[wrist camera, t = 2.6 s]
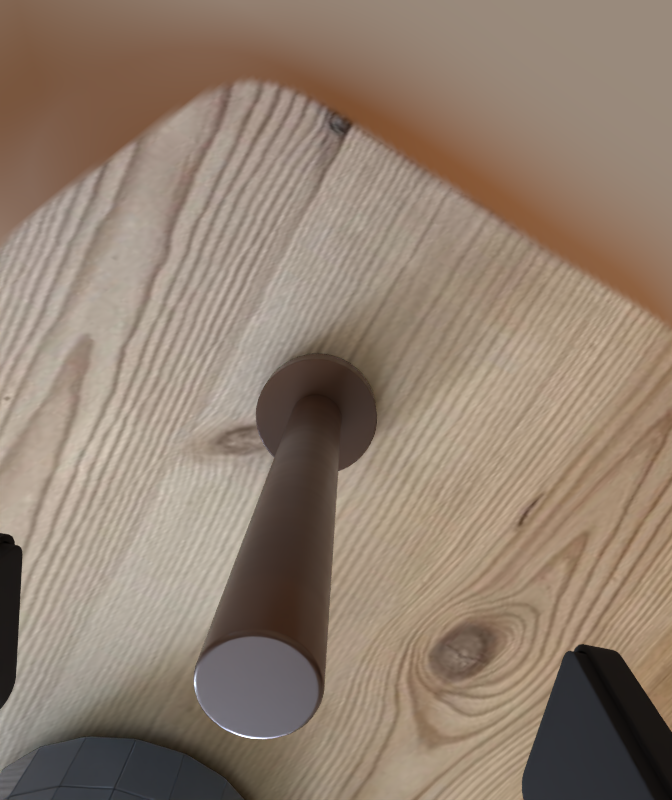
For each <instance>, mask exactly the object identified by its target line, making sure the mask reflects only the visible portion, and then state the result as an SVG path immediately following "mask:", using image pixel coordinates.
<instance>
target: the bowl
mask: <svg viewBox="0 0 672 800" xmlns="http://www.w3.org/2000/svg"><path fill="white" fill-rule="evenodd" d="M0 800H244V798H243V797H242V796H241V795H240V794H239V793H238V792H237V791H236V790H235V788H234V787H233V786H232V785H231V784H230V783H229V782H228V781H227V780H226V778H224V777H223V776H221V775H220V774H218V773H216V772H215V771H213V770H211V769H210V768H208V767H207V766H205V765H203V764H202V763H200V762H198V761H197V760H195V759H194V758H192V757H190V756H189V755H187V754H184V753H182V752H178V751H175V750H172V749H169V748H165V747H162V746H159V745H156V744H152V743H149V742H146V741H142V740H139V739H137V740H136V739H132V738H111V737H91V736H88V737H81V738H77V739H72V740H68V741H63V742H59V743H54V744H50V745H45V746H42V747H39V748H37V749H35V750H34V751H32V752H30V753H29V754H27V755H25V756H24V757H22V758H20V759H18V760H17V761H15V762H13V763H12V764H10V765H8V766H7V767H5V768H4V769H3V770H2V772H1V773H0Z"/></svg>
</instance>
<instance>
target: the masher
mask: <svg viewBox="0 0 672 800" xmlns="http://www.w3.org/2000/svg"><path fill="white" fill-rule="evenodd" d="M256 423H257V429H258V432H259V435H260V438H261V440H262V442H263V444H264V445H265V447H266V448H267V450H268V451H269V452H270V454H271V455H272V456H273V457H274V460H273V463H272V465H271V468H270V470H269V473H268V476H267V478H266V481H265V484H264V486H263V489H262V492H261V494H260V497H259V500H258V502H257V505H256V507H255V510H254V513H253V515H252V518H251V521H250V523H249V526H248V529H247V531H246V534H245V536H244V539H243V542H242V544H241V547H240V550H239V552H238V555H237V558H236V560H235V563H234V566H233V568H232V571H231V573H230V576H229V579H228V581H227V584H226V587H225V589H224V592H223V595H222V597H221V600H220V602H219V605H218V608H217V610H216V613H215V616H214V618H213V621H212V624H211V626H210V629H209V631H208V634H207V637H206V639H205V642H204V645H203V647H202V650H201V653H200V655H199V658H198V661H197V663H196V666H195V670H194V688H195V693H196V697H197V699H198V702H199V704H200V706H201V707H202V709H203V711H204V712H205V713H206V714H207V716H208V717H209V718H210V719H211V720H212V721H213V722H215V723H216V724H217V725H218V726H220V727H222V728H223V729H225V730H227V731H229V732H231V733H233V734H236V735H239V736H242V737H246V738H253V739H272V738H278V737H282V736H285V735H288V734H290V733H292V732H295V731H296V730H298V729H300V728H301V727H303V726H304V725H305V724H306V723H307V722H308V721H309V720H310V719H311V718H312V717H313V715H314V714H315V712H316V711H317V710H318V708H319V706H320V704H321V701H322V698H323V694H324V684H325V668H326V653H327V637H328V622H329V606H330V590H331V575H332V559H333V544H334V528H335V513H336V497H337V481H338V471H340V470H342V469H345V468H346V467H348V466H350V465H351V464H353V463H354V462H356V461H357V460H358V459H359V458H360V457H361V456H362V455H363V454H364V453H365V451H366V450H367V449H368V447H369V445H370V444H371V441H372V439H373V437H374V434H375V430H376V424H377V412H376V405H375V399H374V395H373V392H372V389H371V387H370V385H369V383H368V382H367V380H366V378H365V377H364V376H363V375H362V373H361V372H360V371H359V370H358V369H357V368H355V367H354V366H353V365H351V364H350V363H348V362H347V361H345V360H343V359H340V358H338V357H335V356H331V355H327V354H308V355H303V356H299V357H296V358H294V359H292V360H290V361H288V362H286V363H285V364H283V365H282V366H281V367H279V368H278V369H277V370H276V371H275V372H274V373H273V375H272V376H271V377H270V379H269V380H268V381H267V383H266V385H265V386H264V388H263V390H262V392H261V394H260V397H259V399H258V403H257V408H256Z"/></svg>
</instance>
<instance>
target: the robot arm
mask: <svg viewBox="0 0 672 800" xmlns="http://www.w3.org/2000/svg"><path fill="white" fill-rule="evenodd" d="M21 572H22V549H21V547H20V546H17V545H15V542H14V539H13V537H12V536H10V535H8V534H3V533H0V709H1V708H2V706H3V705H4V704H5V702H6V701H7V700H8V698H9V696H10V694H11V692H12V690H13V687H14V684H15V680H16V667H17V648H18V629H19V610H20V591H21ZM522 793H523V799H524V800H672V732H671V730H670V729H669V727H668V726H667V724H666V723H665V721H664V720H663V718H662V717H661V715H660V714H659V712H658V711H657V709H656V708H655V706H654V705H653V703H652V702H651V700H650V699H649V697H648V696H647V694H646V693H645V691H644V690H643V688H642V687H641V685H640V684H639V682H638V681H637V679H636V678H635V676H634V675H633V673H632V672H631V670H630V669H629V667H628V666H627V664H626V663H625V661H624V660H623V658H622V657H621V655H620V654H619V653H618V652H616V651H614V650H610V649H605V648H599V647H594V646H589V645H584V644H581V645H578V646H577V647H576V648H575V650H574V652H573V651H568V652H567V653H566V654H565V655H564V657H563V660H562V663H561V666H560V669H559V671H558V674H557V677H556V680H555V683H554V686H553V689H552V692H551V695H550V698H549V700H548V703H547V706H546V709H545V712H544V715H543V718H542V721H541V724H540V727H539V729H538V732H537V735H536V738H535V741H534V744H533V747H532V750H531V753H530V756H529V758H528V761H527V764H526V767H525V770H524V773H523V778H522Z"/></svg>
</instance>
